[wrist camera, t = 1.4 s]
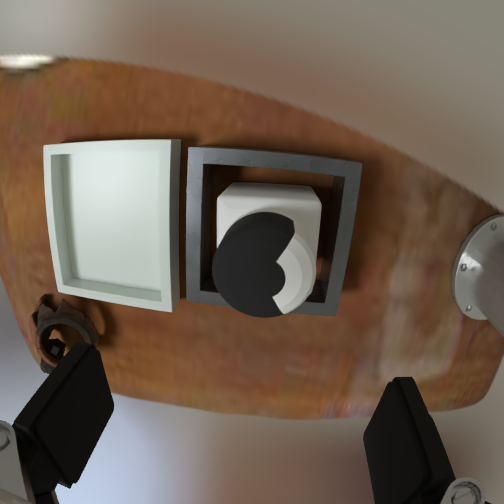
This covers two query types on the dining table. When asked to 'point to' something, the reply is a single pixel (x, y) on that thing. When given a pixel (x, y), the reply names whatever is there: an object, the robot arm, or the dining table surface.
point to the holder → (207, 156)
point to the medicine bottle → (266, 246)
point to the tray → (115, 220)
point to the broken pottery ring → (43, 327)
